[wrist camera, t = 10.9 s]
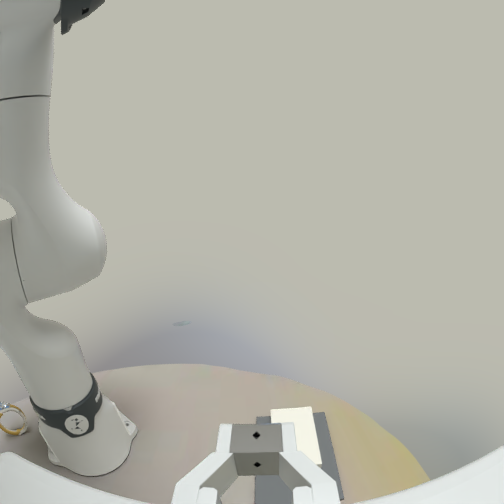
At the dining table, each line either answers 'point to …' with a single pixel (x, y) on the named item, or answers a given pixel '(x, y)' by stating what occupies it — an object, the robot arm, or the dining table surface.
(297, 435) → the tile
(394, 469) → the dining table surface
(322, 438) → the mat
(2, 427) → the ring
